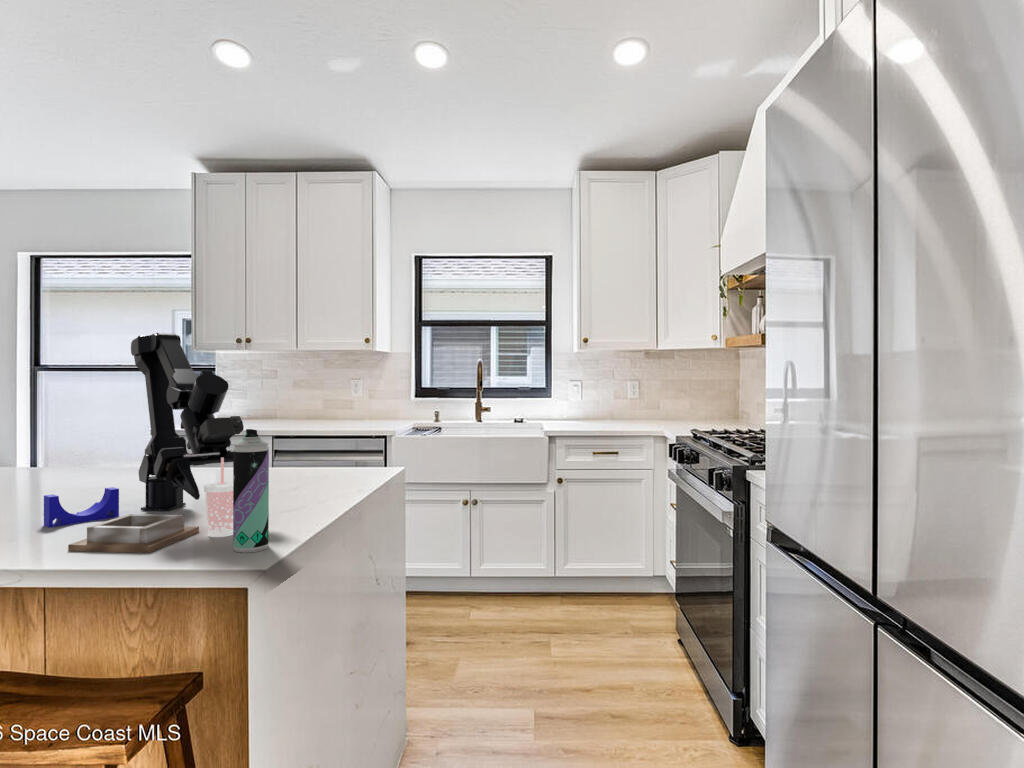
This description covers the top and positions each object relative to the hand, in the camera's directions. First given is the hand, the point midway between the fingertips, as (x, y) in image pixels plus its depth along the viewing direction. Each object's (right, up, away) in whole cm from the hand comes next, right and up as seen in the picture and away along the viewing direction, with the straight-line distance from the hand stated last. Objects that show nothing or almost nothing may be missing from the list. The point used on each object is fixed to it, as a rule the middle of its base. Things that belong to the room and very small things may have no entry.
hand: (224, 494), depth 113 cm
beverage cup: (-1, -7, +1) cm, 8 cm away
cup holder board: (-13, -7, -4) cm, 16 cm away
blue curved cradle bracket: (-34, -8, +12) cm, 37 cm away
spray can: (+8, -8, -9) cm, 14 cm away
